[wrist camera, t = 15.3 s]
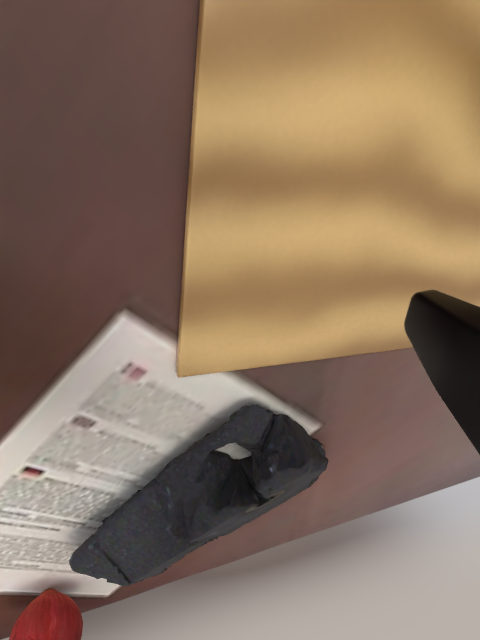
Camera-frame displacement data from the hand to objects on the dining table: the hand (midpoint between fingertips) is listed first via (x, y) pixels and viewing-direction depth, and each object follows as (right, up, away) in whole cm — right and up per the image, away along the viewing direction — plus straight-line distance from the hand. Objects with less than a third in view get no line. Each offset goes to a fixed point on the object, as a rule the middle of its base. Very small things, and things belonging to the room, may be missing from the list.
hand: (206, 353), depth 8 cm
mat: (+10, +8, +15) cm, 19 cm away
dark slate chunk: (-3, -14, +28) cm, 32 cm away
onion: (-17, -24, +30) cm, 43 cm away
